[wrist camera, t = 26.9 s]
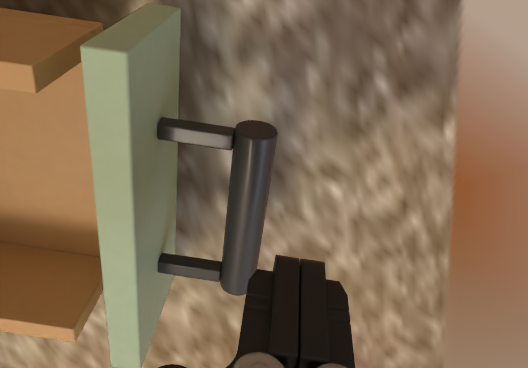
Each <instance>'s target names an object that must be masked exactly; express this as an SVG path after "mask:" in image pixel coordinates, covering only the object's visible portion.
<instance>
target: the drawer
mask: <svg viewBox="0 0 528 368" xmlns="http://www.w3.org/2000/svg"><path fill="white" fill-rule="evenodd" d="M180 22H181V10H180V8H178V7H171V6H165V5H158V4H151V3H147V4H145V5H144V6H142V7H141V8H139V9H137V10H136V11H134V12H133V13H131V14H129V15H128V16H126V17H125V18H123V19H122V20H120V21H118V22H117V23H115V24H114V25H112V26H110V27H109V28H107V29H106V30H104V26H103V23H100V22H93V21H86V20H80V19H73V18H66V17H59V16H53V15H46V14H39V13H33V12H26V11H19V10H13V9H6V8H0V331H4V332H10V333H17V334H23V335H30V336H36V337H43V338H49V339H56V340H62V341H69V342H76V340H77V338H78V336H79V334H80V332H81V331H82V329H83V327H84V325H85V323H86V321H87V319H88V317H89V316H90V314H91V312H92V310H93V308H94V306H95V304H96V302H97V300H98V299H99V297H100V295H101V293H102V291H103V290H104V300H105V310H106V321H107V331H108V342H109V352H110V362H111V366H112V367H118V368H141V367H142V364H143V362H144V359H145V356H146V353H147V351H148V348H149V345H150V342H151V339H152V337H153V334H154V331H155V328H156V326H157V323H158V320H159V317H160V315H161V312H162V309H163V306H164V303H165V301H166V298H167V295H168V292H169V290H170V287H171V284H172V281H173V279H174V276H175V275H177V276H184V277H190V278H197V279H203V280H210V281H216V282H219V281H220V284H221V287H222V288H223V290H224V291H226V292H227V293H229V294H232V295H237V296H240V295H245V294H246V293H247V286H248V280H249V279H250V278H251V276H252V275H253V274H254V272H255V271H256V270H257V264H258V258H259V252H260V245H261V239H262V232H263V226H264V219H265V213H266V207H267V200H268V194H269V187H270V181H271V174H272V168H273V162H274V155H275V149H276V142H277V136H278V132H277V129H276V128H275V127H274V126H272V125H271V124H268V123H266V122H262V121H256V120H248V121H243V122H240V123H238V124H237V125H236V127H235V128H232V127H225V126H219V125H212V124H205V123H199V122H192V121H186V120H179V119H178V110H179V66H180ZM178 142H179V143H185V144H192V145H199V146H205V147H212V148H219V149H225V150H232V148H233V154H232V165H231V175H230V185H229V195H228V205H227V216H226V226H225V236H224V246H223V257H222V262H220V261H214V260H207V259H200V258H194V257H187V256H181V255H175V243H176V199H177V154H178Z"/></svg>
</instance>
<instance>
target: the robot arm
mask: <svg viewBox="0 0 528 368" xmlns="http://www.w3.org/2000/svg"><path fill="white" fill-rule="evenodd" d="M159 368H186V367H184V366H181V365H174V364H171V365H164V366H161V367H159ZM226 368H355V362H354V353H353V344H352V334H351V325H350V315H349V306H348V297H347V294H346V292H345V290H344V289H343V287H342V285H341V284H340V282H339V281H332V280H326V277H325V263H324V262H320V261H314V260H307V259H300V262H299V258H293V257H287V256H280V255H276V257H275V262H274V267H273V272H272V271H266V270H259V269H257V270H256V271H255V272H254V274H253V275H252V276H251V278H250V279H249V280H248V286H247V293H246V299H245V306H244V312H243V319H242V325H241V332H240V339H239V345H238V351H237V354H236V357H235V358H234V360H233V361H232V363H231V364H230V365H229V366H227V367H226Z"/></svg>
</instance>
